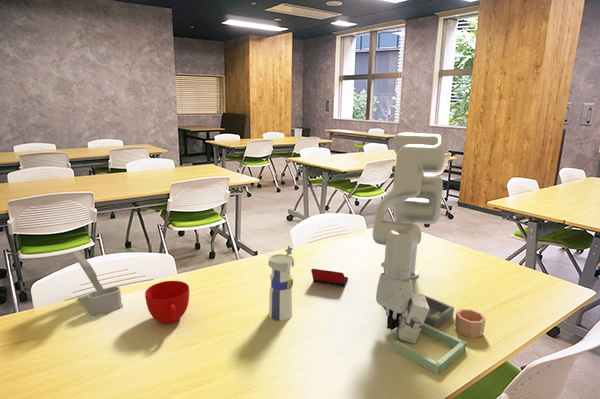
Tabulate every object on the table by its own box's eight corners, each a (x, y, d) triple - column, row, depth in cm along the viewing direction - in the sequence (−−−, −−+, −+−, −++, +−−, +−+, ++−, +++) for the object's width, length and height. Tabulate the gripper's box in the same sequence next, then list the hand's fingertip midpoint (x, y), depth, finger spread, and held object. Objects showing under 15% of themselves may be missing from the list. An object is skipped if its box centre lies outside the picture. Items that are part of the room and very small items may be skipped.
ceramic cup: (152, 341, 110) (149, 310, 107) (145, 313, 124) (142, 285, 122) (197, 330, 115) (196, 300, 113) (186, 304, 130) (184, 277, 128)
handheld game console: (348, 279, 152) (349, 262, 150) (342, 291, 142) (343, 273, 140) (317, 274, 155) (318, 257, 153) (310, 286, 145) (310, 268, 143)
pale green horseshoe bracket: (393, 350, 108) (394, 342, 107) (422, 329, 118) (423, 322, 117) (437, 374, 98) (438, 366, 98) (465, 350, 108) (466, 342, 108)
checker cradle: (400, 315, 126) (401, 303, 125) (419, 303, 134) (420, 292, 133) (435, 331, 117) (436, 319, 116) (453, 317, 125) (455, 306, 124)
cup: (450, 330, 118) (452, 314, 117) (462, 321, 123) (464, 306, 122) (475, 341, 112) (477, 325, 111) (486, 331, 117) (488, 316, 116)
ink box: (395, 323, 119) (408, 290, 116) (411, 327, 119) (424, 294, 116) (399, 339, 111) (412, 304, 108) (416, 344, 111) (430, 309, 108)
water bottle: (298, 310, 127) (299, 239, 122) (286, 323, 120) (287, 248, 114) (276, 305, 131) (276, 235, 125) (263, 317, 123) (263, 243, 117)
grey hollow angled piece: (124, 307, 128) (119, 257, 123) (91, 318, 121) (84, 265, 117) (108, 289, 140) (103, 242, 136) (77, 297, 133) (70, 249, 129)
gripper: (368, 266, 115) (364, 321, 119) (412, 283, 104) (406, 344, 108) (383, 260, 120) (379, 313, 124) (427, 276, 109) (421, 334, 113)
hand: (392, 327), depth 116 cm, fingers closed
